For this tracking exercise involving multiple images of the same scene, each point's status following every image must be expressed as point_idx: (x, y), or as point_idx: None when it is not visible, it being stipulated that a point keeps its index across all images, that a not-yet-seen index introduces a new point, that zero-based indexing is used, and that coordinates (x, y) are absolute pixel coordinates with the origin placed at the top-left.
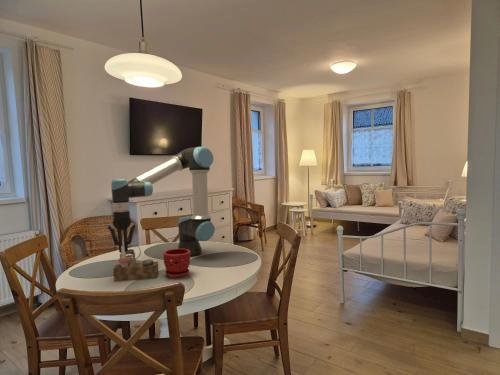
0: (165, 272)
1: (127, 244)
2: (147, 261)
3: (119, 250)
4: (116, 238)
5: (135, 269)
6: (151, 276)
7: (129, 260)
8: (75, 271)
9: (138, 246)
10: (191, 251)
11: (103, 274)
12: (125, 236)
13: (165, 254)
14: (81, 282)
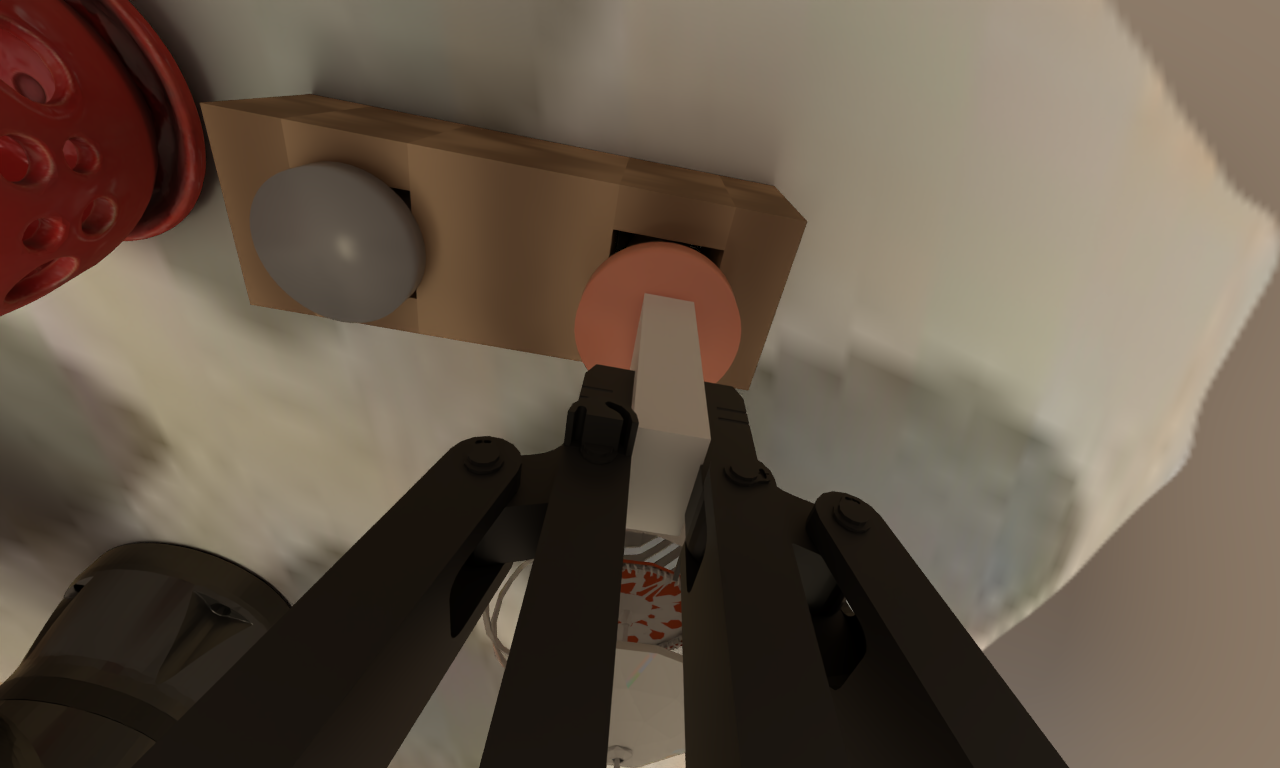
0: (174, 91)
1: (549, 459)
2: (328, 226)
3: (738, 408)
4: (854, 707)
5: (518, 158)
6: (364, 107)
7: (583, 292)
8: (1021, 567)
9: (498, 658)
10: (115, 579)
11: (842, 425)
12: (536, 685)
13: None
14: (1064, 298)
